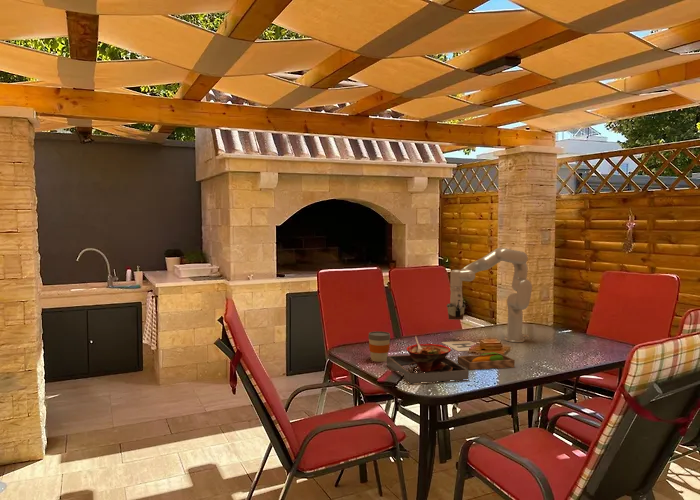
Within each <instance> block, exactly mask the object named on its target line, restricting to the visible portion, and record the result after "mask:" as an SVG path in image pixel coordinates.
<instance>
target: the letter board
mask: <svg viewBox="0 0 700 500" xmlns="http://www.w3.org/2000/svg"><path fill="white" fill-rule="evenodd" d="M441 344H443V345H444V346H447V347H449V348H450V349H451V350H454V351H456V352H458V353H459V352H470V351H469V348H470V347H471V345H473V344H476V343H475V342H473V341H471V340H460V341H459V340H457V341H441Z"/></svg>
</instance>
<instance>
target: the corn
mask: <svg viewBox="0 0 700 500" xmlns="http://www.w3.org/2000/svg"><path fill="white" fill-rule="evenodd" d="M489 354H490V355H489ZM500 354H501V353H499V352H493V351H492V352H486V353H482V354H480V355H484V356H480V357H477V358H475V359H473V361H472V362H482V361H498V360H503V356H502V355H500Z"/></svg>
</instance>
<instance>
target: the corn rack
mask: <svg viewBox="0 0 700 500" xmlns="http://www.w3.org/2000/svg"><path fill="white" fill-rule="evenodd" d="M499 354H500V355H502V356H503V360H498V361H482V362H472V361H473V359H475V358H477V357H480V356H484V355H481V354H477V355H476V354H475V355H474V354H473V355H458V356H457V364H459V365H460V366H462V367H464V368H465V369H466V368H467V370H468V369H469V371H474V370H473V369H480V370H491V369H490V368H496V369H506V368H505V367H511V368H515V362H516V361H515V359H514V358H511V357H509V356H507V355H505V354H502V353H499ZM488 355H490V354H488Z"/></svg>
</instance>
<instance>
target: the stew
mask: <svg viewBox="0 0 700 500" xmlns="http://www.w3.org/2000/svg"><path fill="white" fill-rule="evenodd" d="M414 337H415V340H414V341H415V343H416V344H412V345H410V346H407V348H406V351H407V353H408V355H410V356H411V357H412V358H413V360H414V361H415V362H413V363H411V364H409V368H411V369H413V372H414V371H415V370H416V369H415V368H417V367H419V368H418V369H417V370H416V371H417V372H418V373H420V372H421V371H422V372H421V373H424V372H425V373H427V372H442V371H451V370H452V369H453V367H451V366H450V365H449V364H448V363H444V362H442V361H443V360H444V358H445V357H447V356H448V355H449V353H451V351H452V348H450V347H449V346H447V345H444V344H443V345H442V344H438V343H421V344H420V342H419V340H418V335H415V336H414ZM414 363H416V364H414ZM414 365H415V366H414ZM412 366H413V367H412ZM416 371H415V372H416ZM415 372H414V373H415Z"/></svg>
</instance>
